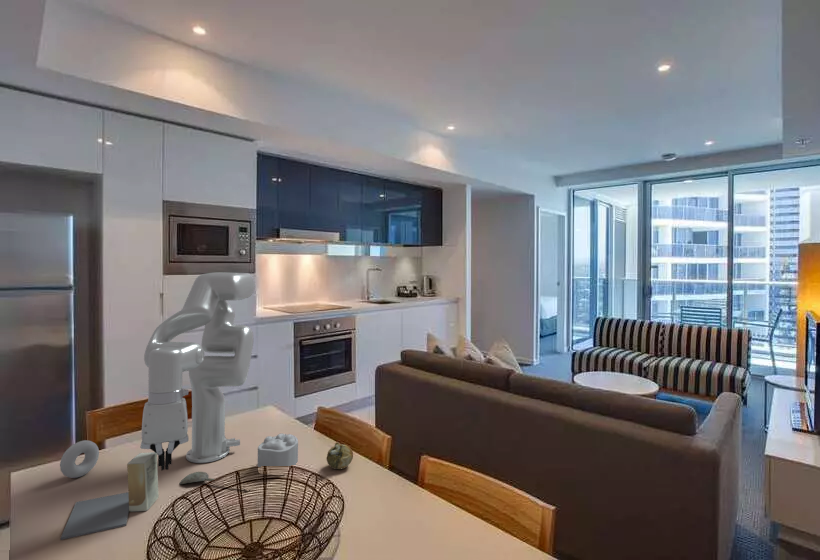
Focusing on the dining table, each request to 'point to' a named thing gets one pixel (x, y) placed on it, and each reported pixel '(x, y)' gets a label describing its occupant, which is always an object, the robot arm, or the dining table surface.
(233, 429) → the dining table surface
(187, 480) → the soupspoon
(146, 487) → the skincare box
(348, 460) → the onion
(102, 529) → the mat
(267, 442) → the lumpy-topped squat cylinder
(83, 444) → the donut
